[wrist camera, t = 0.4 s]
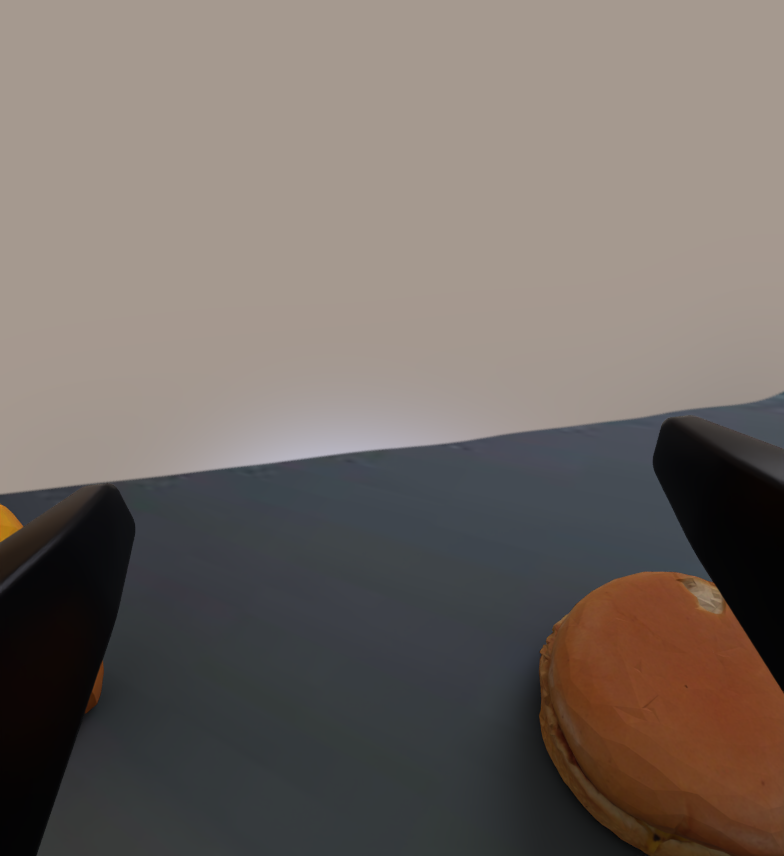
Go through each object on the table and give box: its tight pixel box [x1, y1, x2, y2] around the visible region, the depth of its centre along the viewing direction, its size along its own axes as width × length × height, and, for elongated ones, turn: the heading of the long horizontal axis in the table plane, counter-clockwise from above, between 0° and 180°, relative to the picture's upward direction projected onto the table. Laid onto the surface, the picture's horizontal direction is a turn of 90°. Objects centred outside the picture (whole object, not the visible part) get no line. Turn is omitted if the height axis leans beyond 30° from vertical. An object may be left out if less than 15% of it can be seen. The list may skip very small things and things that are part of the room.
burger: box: [539, 572, 784, 856], centre depth 18 cm, size 10×9×5 cm
